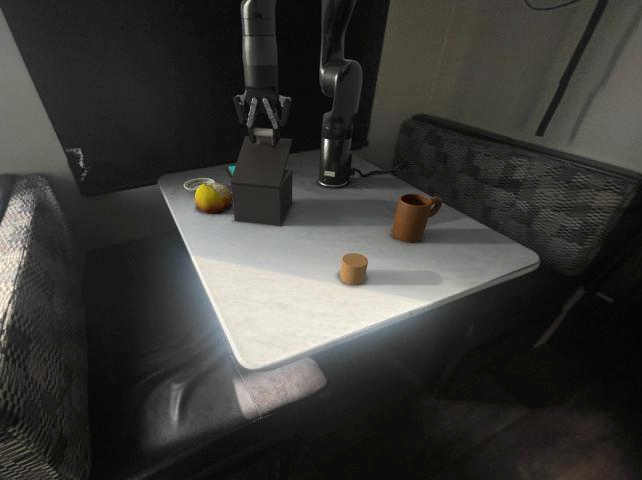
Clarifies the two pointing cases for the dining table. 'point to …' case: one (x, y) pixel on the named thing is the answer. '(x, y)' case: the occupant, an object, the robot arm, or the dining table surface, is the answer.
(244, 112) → the robot arm
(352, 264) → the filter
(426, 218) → the mug
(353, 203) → the dining table surface
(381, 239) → the dining table surface
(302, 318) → the dining table surface
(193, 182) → the saucer
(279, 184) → the lid
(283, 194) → the dark gray cube box
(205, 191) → the fruit
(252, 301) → the dining table surface
